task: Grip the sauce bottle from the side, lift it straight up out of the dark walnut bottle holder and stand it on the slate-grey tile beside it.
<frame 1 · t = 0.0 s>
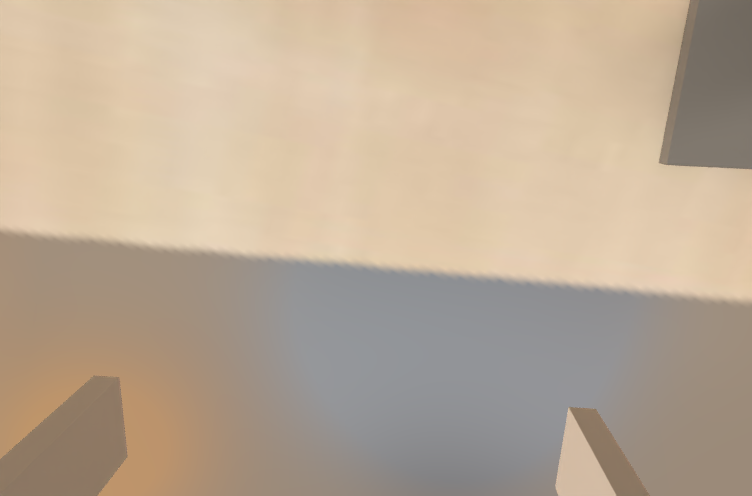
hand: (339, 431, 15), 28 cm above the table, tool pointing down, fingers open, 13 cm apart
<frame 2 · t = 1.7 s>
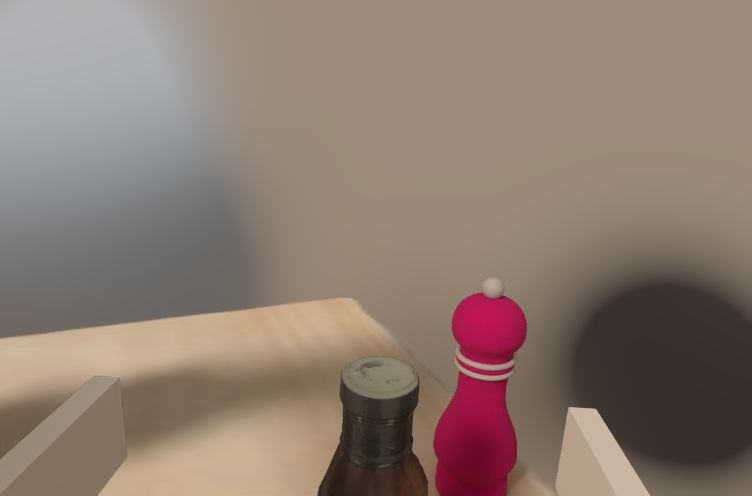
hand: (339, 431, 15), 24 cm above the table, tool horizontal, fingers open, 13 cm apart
pepper mill: (469, 488, 47), on the table
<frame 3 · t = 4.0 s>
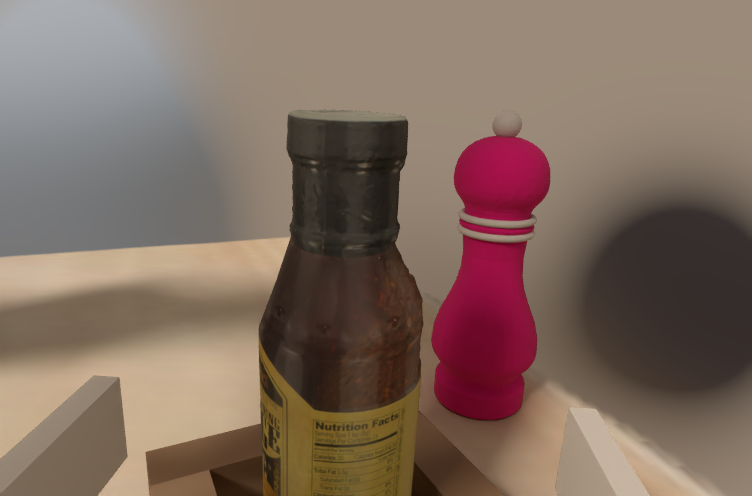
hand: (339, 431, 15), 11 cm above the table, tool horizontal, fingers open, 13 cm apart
pepper mill: (476, 397, 38), on the table
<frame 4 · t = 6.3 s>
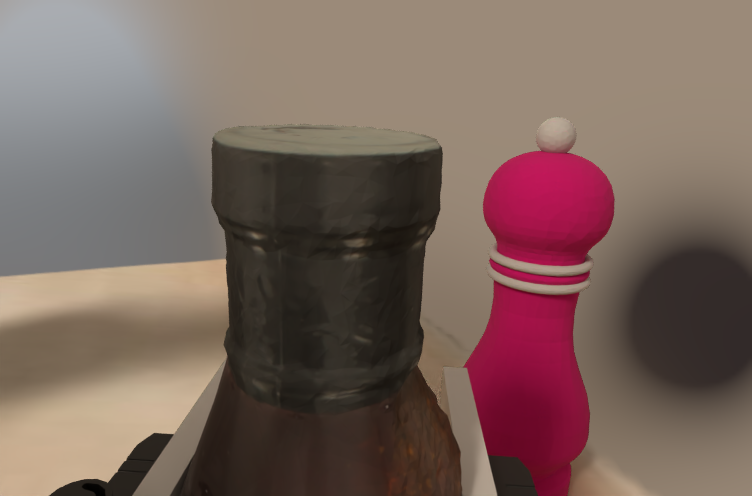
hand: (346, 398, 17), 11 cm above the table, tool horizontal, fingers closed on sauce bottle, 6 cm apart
pepper mill: (508, 483, 30), on the table
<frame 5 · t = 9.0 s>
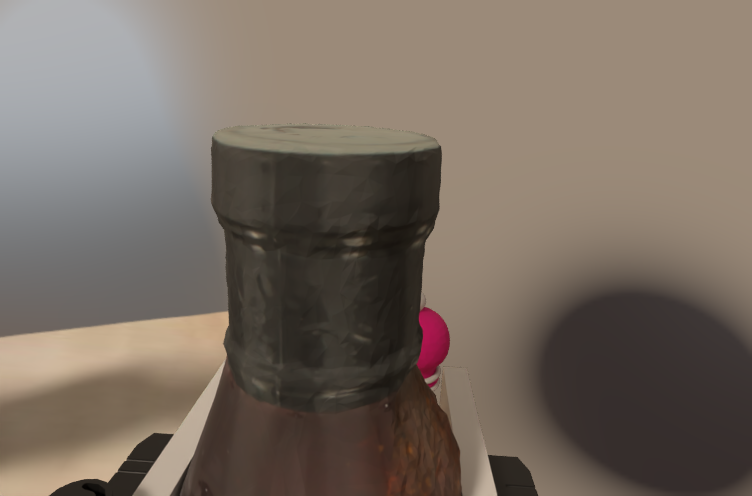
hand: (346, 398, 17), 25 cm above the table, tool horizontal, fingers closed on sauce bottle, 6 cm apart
when the fingers open (13 cm above the table, at t = 11.9 s): sauce bottle drops 1 cm, resting on slate tile.
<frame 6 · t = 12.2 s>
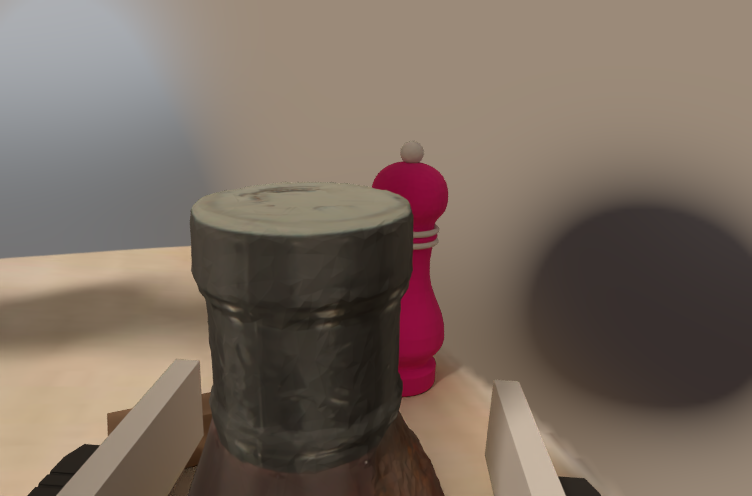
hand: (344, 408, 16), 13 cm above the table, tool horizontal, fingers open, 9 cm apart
pepper mill: (397, 379, 45), on the table
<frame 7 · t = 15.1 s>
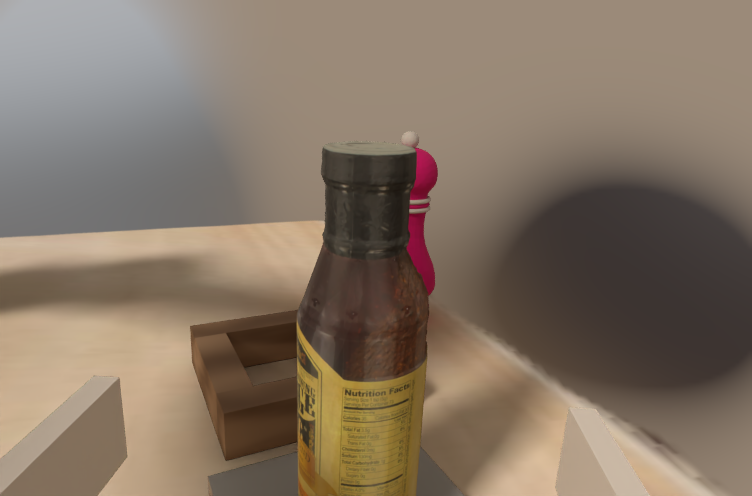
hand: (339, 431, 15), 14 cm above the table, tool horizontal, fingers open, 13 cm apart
bottle holder: (294, 385, 43), on the table
pepper mill: (399, 318, 57), on the table
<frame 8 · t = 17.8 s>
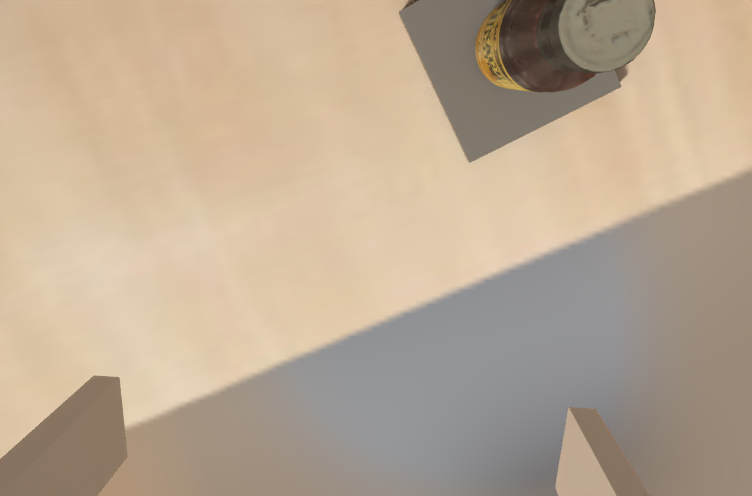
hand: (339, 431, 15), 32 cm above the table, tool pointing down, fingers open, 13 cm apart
slate tile: (508, 50, 42), on the table
sauce bottle: (511, 50, 41), point 1 cm above the table, touching slate tile
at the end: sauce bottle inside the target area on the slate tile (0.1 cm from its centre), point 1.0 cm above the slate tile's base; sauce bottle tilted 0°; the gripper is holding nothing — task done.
